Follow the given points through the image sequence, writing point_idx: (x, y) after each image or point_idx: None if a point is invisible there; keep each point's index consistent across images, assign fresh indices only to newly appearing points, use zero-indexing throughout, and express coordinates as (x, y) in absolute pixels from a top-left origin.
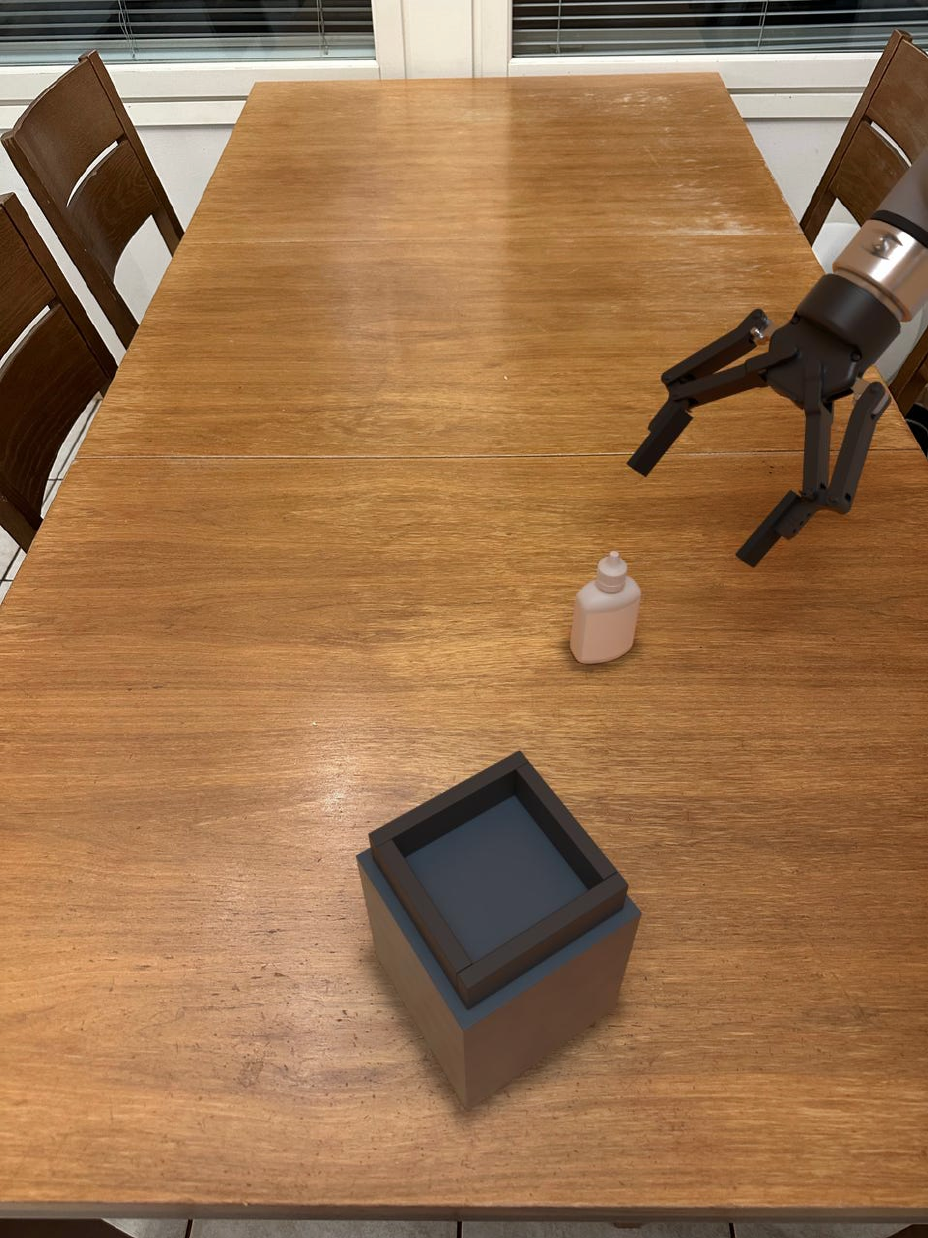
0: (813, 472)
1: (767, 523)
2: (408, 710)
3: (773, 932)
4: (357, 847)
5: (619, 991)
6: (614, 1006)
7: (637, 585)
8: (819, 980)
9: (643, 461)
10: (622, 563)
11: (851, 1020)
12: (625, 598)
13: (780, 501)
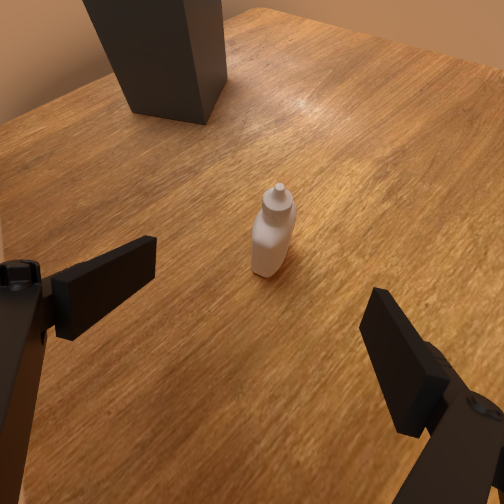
0: (1, 309)
1: (113, 255)
2: (321, 149)
3: (77, 172)
4: (272, 96)
5: (123, 92)
6: (130, 108)
7: (259, 239)
8: (49, 167)
9: (373, 308)
10: (271, 203)
11: (30, 162)
12: (256, 218)
13: (90, 269)
